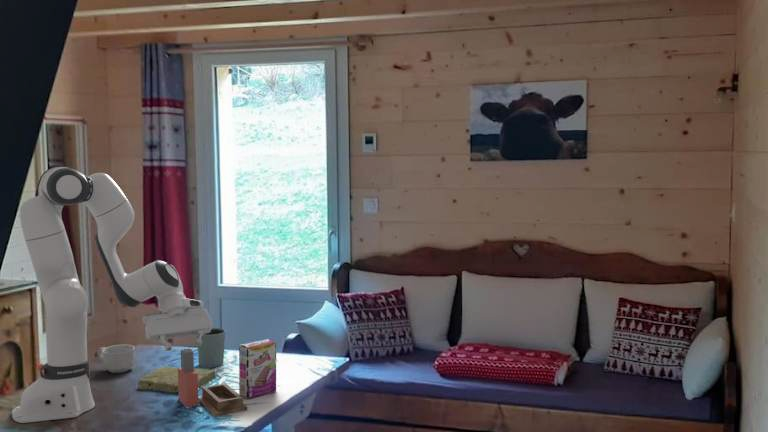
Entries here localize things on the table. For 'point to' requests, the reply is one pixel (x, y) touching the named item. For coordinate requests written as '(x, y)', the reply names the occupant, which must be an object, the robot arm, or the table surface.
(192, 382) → the pink and grey block
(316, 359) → the table surface
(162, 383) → the decorative tile
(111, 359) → the teacup
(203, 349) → the grey cup
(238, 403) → the brown wooden tray
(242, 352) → the candy bar box
